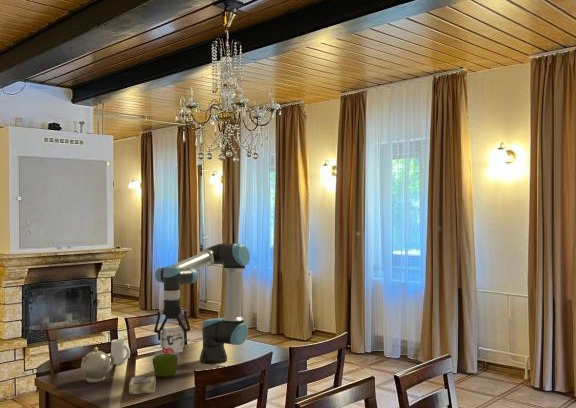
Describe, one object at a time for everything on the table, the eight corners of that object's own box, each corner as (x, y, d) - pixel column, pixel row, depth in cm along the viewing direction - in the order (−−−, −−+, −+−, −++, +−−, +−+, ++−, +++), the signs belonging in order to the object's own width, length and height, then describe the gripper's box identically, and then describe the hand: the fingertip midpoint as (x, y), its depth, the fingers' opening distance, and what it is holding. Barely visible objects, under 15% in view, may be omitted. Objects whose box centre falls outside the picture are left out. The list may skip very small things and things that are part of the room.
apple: (150, 374, 290) (150, 352, 290) (174, 371, 295) (174, 349, 295) (155, 381, 278) (155, 357, 279) (180, 377, 283) (180, 354, 283)
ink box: (166, 354, 266) (165, 329, 267) (162, 352, 271) (161, 327, 271) (183, 351, 271) (182, 326, 271) (179, 349, 275) (178, 325, 276)
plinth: (155, 384, 272) (155, 375, 273) (154, 392, 260) (154, 382, 260) (131, 385, 271) (131, 376, 271) (129, 394, 258) (129, 384, 258)
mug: (124, 365, 308) (124, 343, 308) (107, 363, 314) (107, 341, 314) (135, 362, 315) (134, 340, 316) (118, 360, 321) (118, 338, 321)
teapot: (91, 386, 270) (91, 351, 270) (74, 382, 278) (74, 348, 278) (122, 378, 284) (122, 344, 285) (105, 373, 292) (105, 341, 293)
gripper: (195, 296, 277) (196, 343, 277) (148, 298, 273) (149, 346, 273) (195, 299, 270) (196, 346, 269) (147, 301, 266) (147, 349, 265)
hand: (172, 346), depth 271 cm, fingers closed on ink box, 9 cm apart
